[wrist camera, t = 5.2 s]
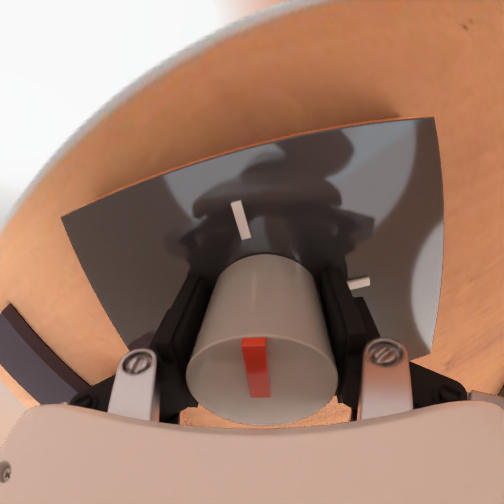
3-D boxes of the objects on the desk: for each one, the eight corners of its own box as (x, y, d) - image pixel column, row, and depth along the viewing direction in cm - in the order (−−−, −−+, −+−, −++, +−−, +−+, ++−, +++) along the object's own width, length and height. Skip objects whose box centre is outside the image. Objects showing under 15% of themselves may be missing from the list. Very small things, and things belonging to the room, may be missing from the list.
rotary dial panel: (174, 364, 18) (162, 399, 15) (93, 199, 13) (57, 218, 10) (412, 321, 15) (431, 355, 12) (401, 116, 10) (436, 116, 8)
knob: (318, 338, 12) (331, 429, 8) (221, 342, 12) (202, 431, 8) (320, 249, 10) (350, 337, 6) (203, 257, 11) (162, 343, 6)
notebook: (168, 441, 24) (10, 302, 18) (165, 453, 22) (0, 312, 16) (114, 447, 28) (-6, 342, 21) (110, 455, 26) (-12, 350, 20)
